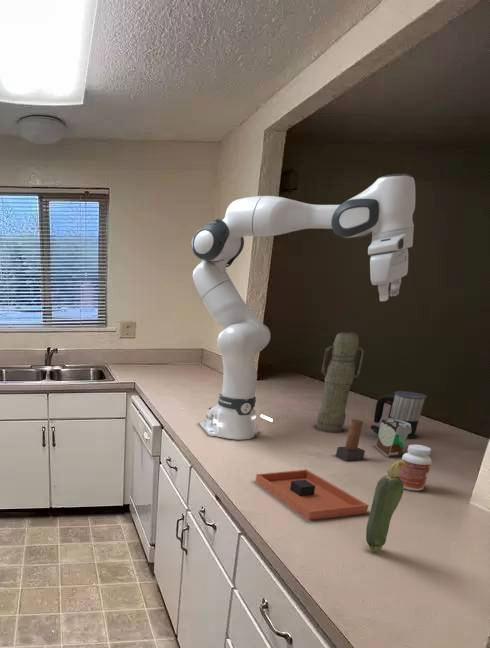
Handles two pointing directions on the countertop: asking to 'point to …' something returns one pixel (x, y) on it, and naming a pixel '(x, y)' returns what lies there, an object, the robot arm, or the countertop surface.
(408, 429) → the food container
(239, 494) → the countertop surface
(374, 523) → the vegetable
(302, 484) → the block
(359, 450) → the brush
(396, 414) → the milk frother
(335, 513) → the tray
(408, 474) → the pill bottle
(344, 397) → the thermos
